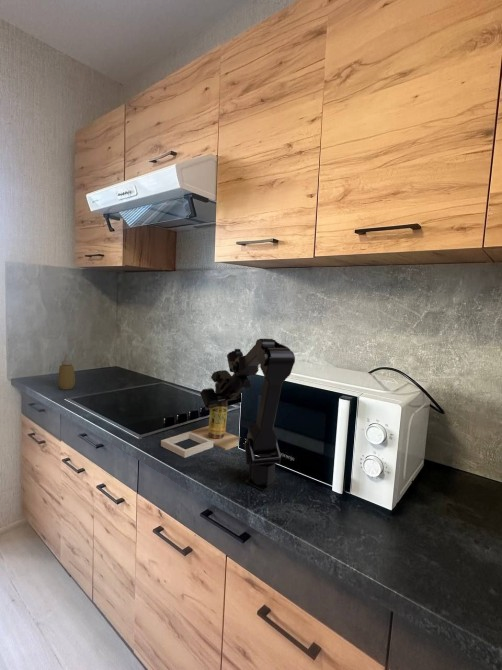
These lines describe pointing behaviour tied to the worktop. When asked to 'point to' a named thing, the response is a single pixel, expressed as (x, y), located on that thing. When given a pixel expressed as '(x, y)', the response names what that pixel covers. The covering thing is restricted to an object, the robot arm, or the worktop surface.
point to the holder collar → (184, 453)
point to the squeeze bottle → (66, 374)
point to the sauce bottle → (218, 418)
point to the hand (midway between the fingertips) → (216, 407)
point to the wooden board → (224, 443)
